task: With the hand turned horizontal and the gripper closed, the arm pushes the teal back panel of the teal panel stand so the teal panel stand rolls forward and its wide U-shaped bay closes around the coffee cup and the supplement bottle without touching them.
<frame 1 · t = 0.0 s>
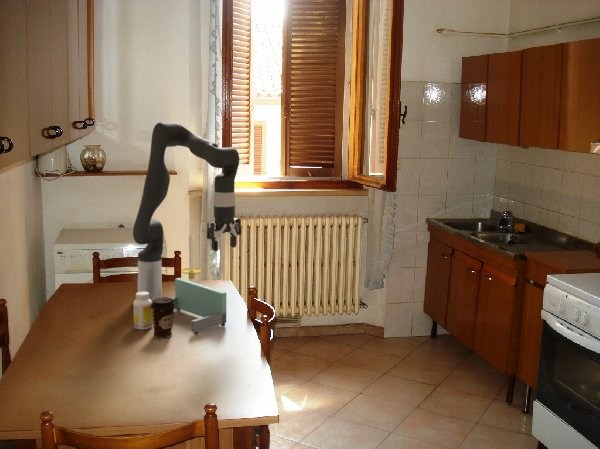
hand: (224, 248, 245), 29 cm above the table, tool pointing down, fingers open, 8 cm apart
supplement bottle: (143, 327, 248), on the table
coffee cup: (163, 336, 240), on the table
teal panel stand: (186, 305, 253), point 7 cm above the table, slide at 0.0 cm
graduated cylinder: (191, 293, 291), on the table
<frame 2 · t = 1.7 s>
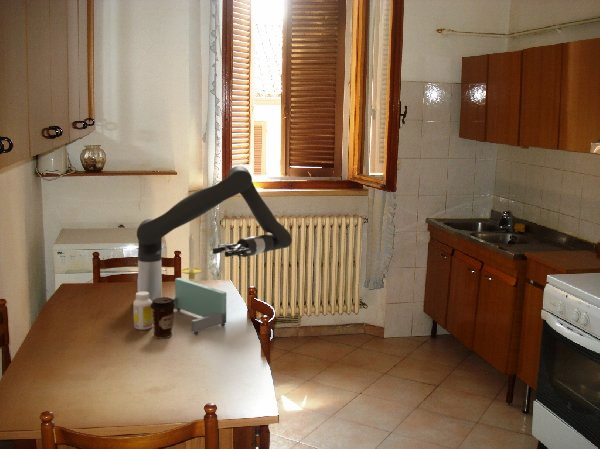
hand: (219, 252, 261), 24 cm above the table, tool horizontal, fingers open, 6 cm apart
nothing on the table moved.
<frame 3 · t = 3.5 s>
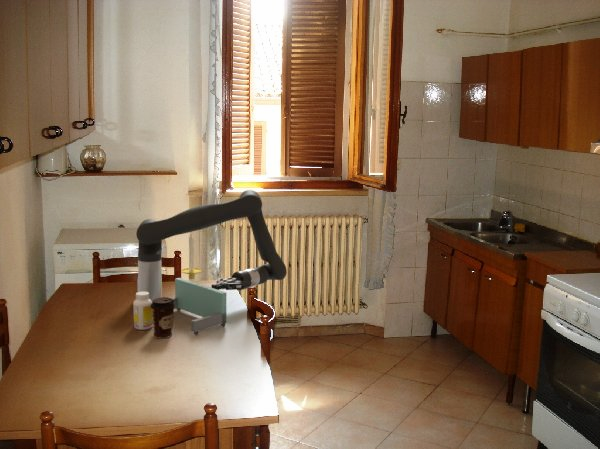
hand: (212, 287, 261), 11 cm above the table, tool horizontal, fingers closed
nothing on the table moved.
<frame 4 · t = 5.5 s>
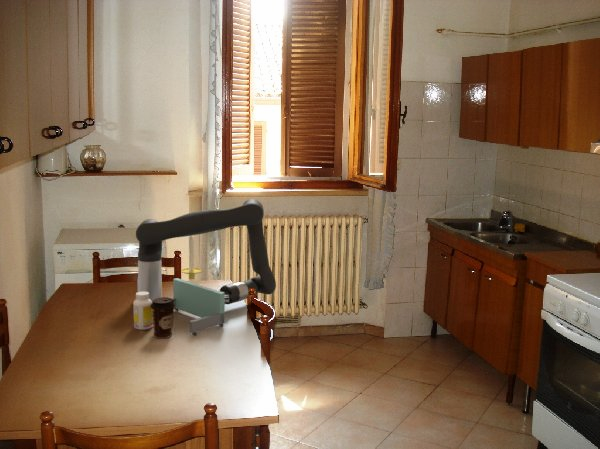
hand: (200, 301, 258), 6 cm above the table, tool horizontal, fingers closed
teal panel stand: (184, 305, 252), point 7 cm above the table, slide at 0.9 cm, touching gripper
everything else where it was.
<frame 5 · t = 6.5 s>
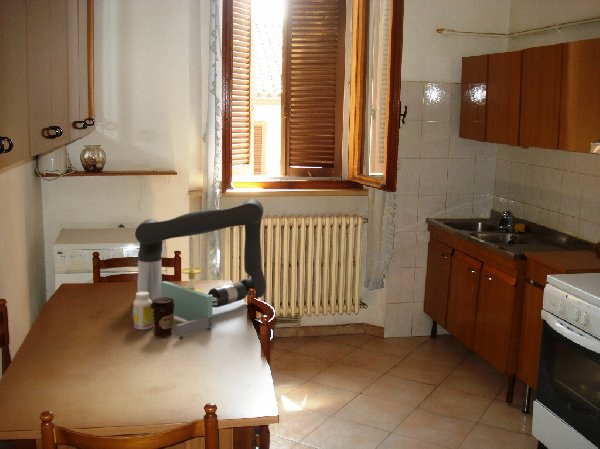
hand: (188, 305, 253), 6 cm above the table, tool horizontal, fingers closed
teal panel stand: (171, 309, 248), point 7 cm above the table, slide at 6.7 cm, touching gripper
everything else where it was.
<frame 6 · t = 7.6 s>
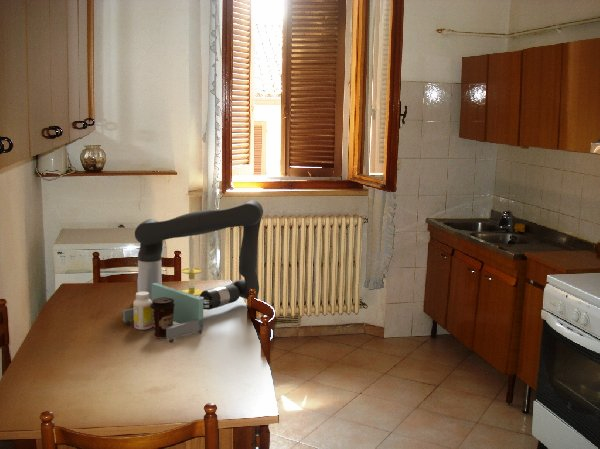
hand: (179, 307, 250), 6 cm above the table, tool horizontal, fingers closed
teal panel stand: (162, 311, 245), point 7 cm above the table, slide at 10.8 cm, touching gripper
everything else where it was.
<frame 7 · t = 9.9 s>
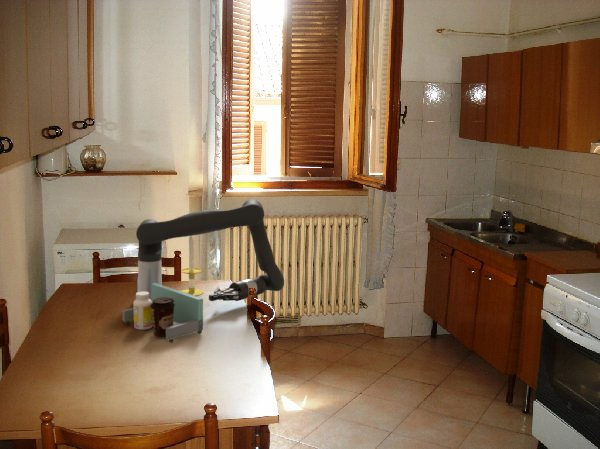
hand: (210, 298, 261), 7 cm above the table, tool horizontal, fingers closed
teal panel stand: (161, 311, 245), point 7 cm above the table, slide at 11.0 cm
everything else where it was.
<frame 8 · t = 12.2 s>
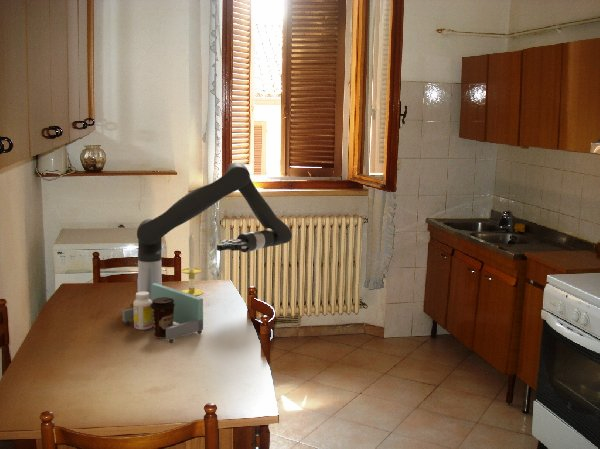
hand: (218, 247, 260), 26 cm above the table, tool horizontal, fingers closed
nothing on the table moved.
at the end: coffee cup inside the target area on the teal panel stand (0.5 cm from its centre), point 0.0 cm above the teal panel stand's base; supplement bottle inside the target area on the teal panel stand (0.2 cm from its centre), point 0.0 cm above the teal panel stand's base; coffee cup moved 0.2 cm from its start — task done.
